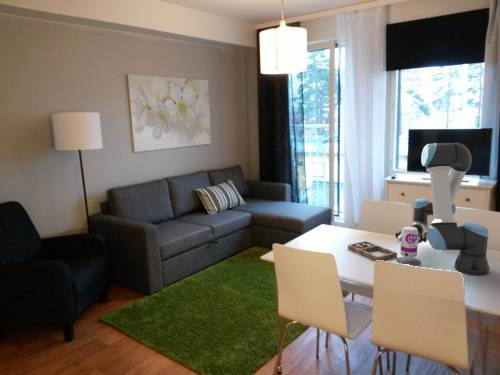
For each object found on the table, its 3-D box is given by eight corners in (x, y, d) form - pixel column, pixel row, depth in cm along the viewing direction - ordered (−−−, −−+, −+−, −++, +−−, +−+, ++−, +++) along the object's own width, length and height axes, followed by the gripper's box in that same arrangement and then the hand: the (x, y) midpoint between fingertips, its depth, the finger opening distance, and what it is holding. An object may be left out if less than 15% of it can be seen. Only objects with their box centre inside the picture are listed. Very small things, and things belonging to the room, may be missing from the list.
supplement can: (418, 258, 204) (420, 230, 201) (401, 257, 205) (402, 230, 202) (415, 252, 211) (416, 226, 209) (399, 252, 213) (400, 225, 210)
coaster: (426, 263, 206) (426, 262, 206) (409, 267, 201) (409, 266, 200) (407, 256, 216) (407, 255, 216) (391, 260, 211) (391, 259, 211)
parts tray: (396, 257, 216) (397, 252, 215) (377, 261, 209) (377, 257, 209) (366, 244, 237) (366, 240, 236) (347, 248, 231) (347, 244, 230)
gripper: (436, 239, 216) (428, 252, 198) (396, 233, 228) (386, 245, 209) (437, 226, 215) (429, 237, 196) (397, 221, 226) (386, 231, 208)
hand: (407, 241), depth 203 cm, fingers closed on supplement can, 8 cm apart
